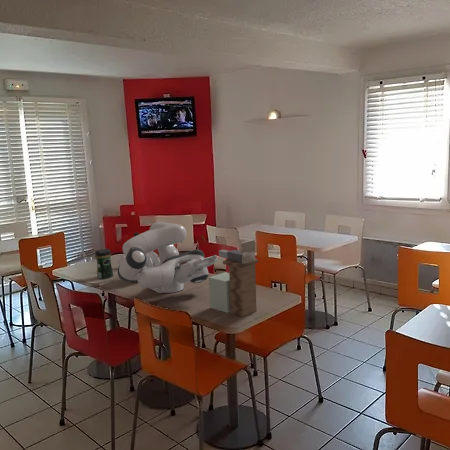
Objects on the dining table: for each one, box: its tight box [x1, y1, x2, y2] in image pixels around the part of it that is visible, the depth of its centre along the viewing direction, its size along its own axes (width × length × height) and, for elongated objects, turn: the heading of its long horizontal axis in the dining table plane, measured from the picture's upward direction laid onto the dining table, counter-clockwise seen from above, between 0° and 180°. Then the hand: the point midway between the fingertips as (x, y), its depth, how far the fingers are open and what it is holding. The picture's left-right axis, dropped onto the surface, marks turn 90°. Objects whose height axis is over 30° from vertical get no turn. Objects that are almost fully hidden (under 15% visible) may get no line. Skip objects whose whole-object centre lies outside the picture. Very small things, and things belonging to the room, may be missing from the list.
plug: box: [218, 249, 242, 263], centre depth 226 cm, size 18×5×4 cm, turn 39°
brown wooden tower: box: [222, 239, 259, 317], centre depth 225 cm, size 12×12×36 cm
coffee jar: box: [94, 248, 114, 280], centre depth 298 cm, size 10×8×19 cm
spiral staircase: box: [117, 250, 160, 283], centre depth 291 cm, size 18×18×25 cm
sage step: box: [208, 272, 231, 314], centre depth 234 cm, size 12×12×16 cm
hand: (209, 258), depth 238 cm, fingers open, 8 cm apart
